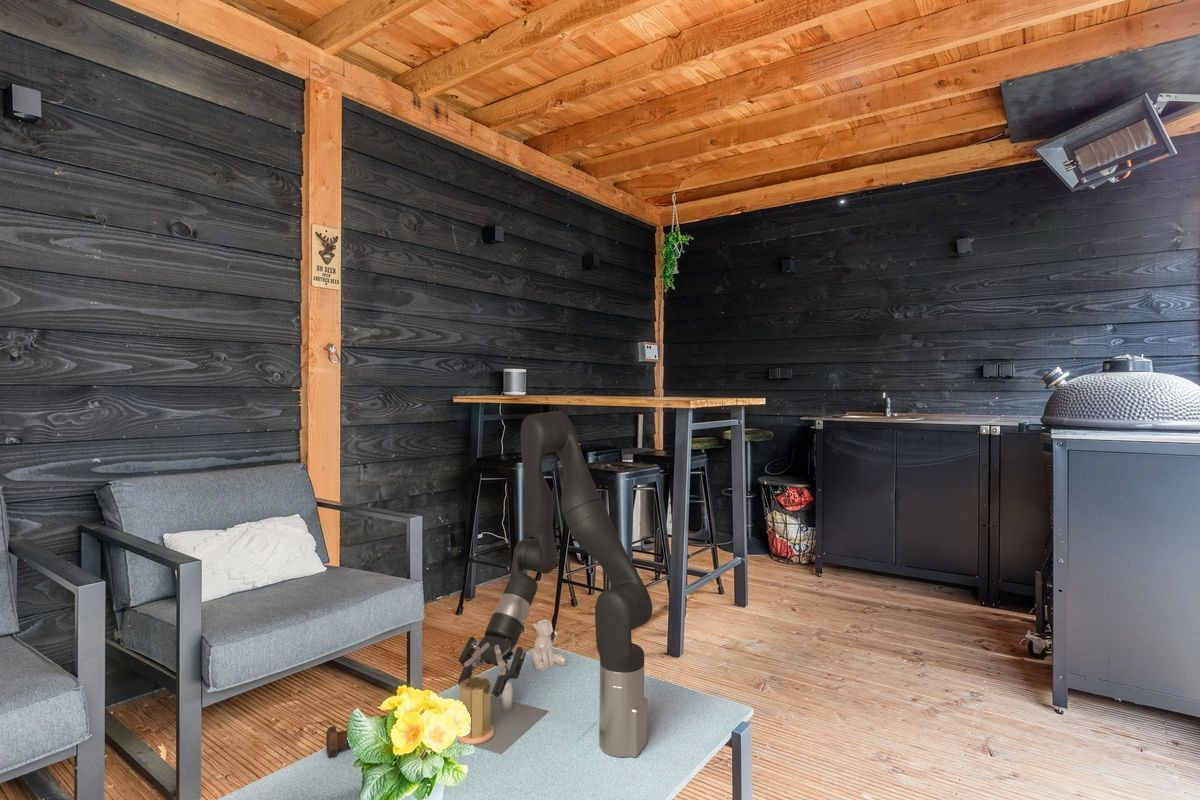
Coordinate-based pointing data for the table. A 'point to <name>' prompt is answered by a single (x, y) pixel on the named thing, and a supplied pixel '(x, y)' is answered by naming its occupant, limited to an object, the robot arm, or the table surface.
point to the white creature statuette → (545, 648)
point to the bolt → (335, 741)
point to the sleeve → (477, 705)
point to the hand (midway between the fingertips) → (478, 691)
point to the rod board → (506, 722)
